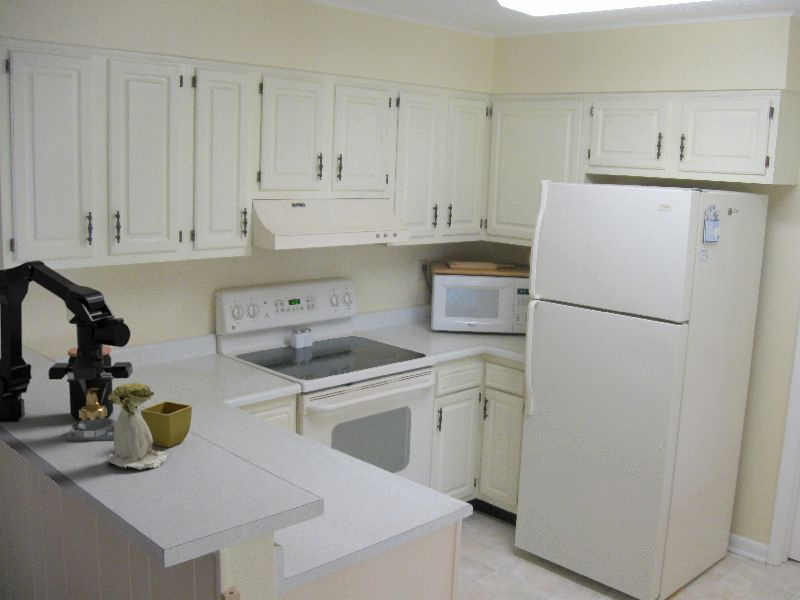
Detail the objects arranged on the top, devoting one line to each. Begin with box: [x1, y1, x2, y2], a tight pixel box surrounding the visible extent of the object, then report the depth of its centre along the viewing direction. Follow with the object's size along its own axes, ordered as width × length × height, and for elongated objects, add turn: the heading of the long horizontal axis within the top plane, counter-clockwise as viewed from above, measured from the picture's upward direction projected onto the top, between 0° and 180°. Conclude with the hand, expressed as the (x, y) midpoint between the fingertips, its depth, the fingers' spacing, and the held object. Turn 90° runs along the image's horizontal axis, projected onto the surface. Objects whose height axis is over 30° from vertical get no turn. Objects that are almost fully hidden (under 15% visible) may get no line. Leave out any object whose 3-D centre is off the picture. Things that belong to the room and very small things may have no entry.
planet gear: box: [79, 387, 107, 420], centre depth 210 cm, size 6×6×7 cm
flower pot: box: [140, 400, 193, 448], centre depth 205 cm, size 9×9×9 cm
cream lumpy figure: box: [106, 382, 168, 471], centre depth 191 cm, size 12×13×18 cm
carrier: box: [65, 417, 117, 442], centre depth 212 cm, size 19×10×2 cm, turn 96°
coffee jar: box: [67, 345, 114, 422], centre depth 224 cm, size 11×11×18 cm
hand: (92, 404), depth 210 cm, fingers closed on planet gear, 3 cm apart
